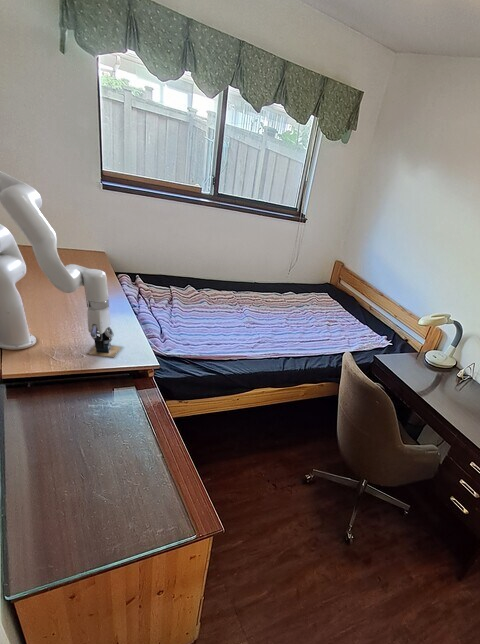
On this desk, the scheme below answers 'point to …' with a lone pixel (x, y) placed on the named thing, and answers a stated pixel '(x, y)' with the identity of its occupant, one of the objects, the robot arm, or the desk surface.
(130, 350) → the desk surface
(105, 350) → the watch
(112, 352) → the brown wooden square tile
